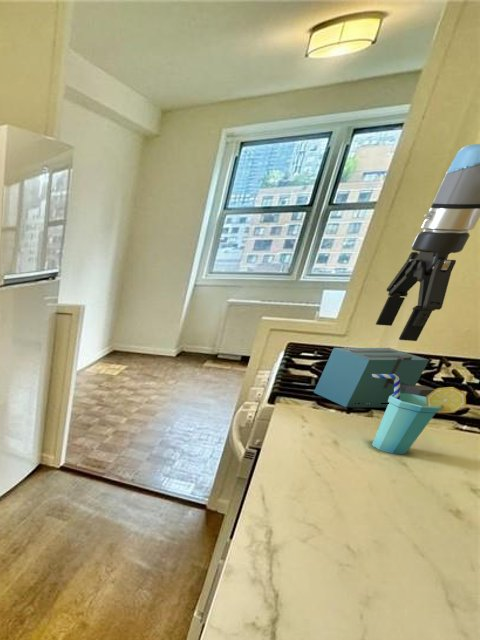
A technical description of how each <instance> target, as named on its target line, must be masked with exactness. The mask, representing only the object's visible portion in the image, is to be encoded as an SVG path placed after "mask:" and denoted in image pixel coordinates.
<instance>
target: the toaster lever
mask: <svg viewBox="0 0 480 640" xmlns="http://www.w3.org/2000/svg"><path fill="white" fill-rule="evenodd" d="M387 382H388V383H390V384H393V385H394V380H393V379H388V381H387ZM400 387H401V388H404V389H406V390H405V392H404V394H414V395H418V396H423V397H426V396H427V395H429V394H430V393H432V392H433V391H434V390H436V389H437V388H433V387H430V386H427V385H422V384H421V385H420V384H416V385H408V384H405V383H402V382H400Z"/></svg>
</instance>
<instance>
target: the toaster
mask: <svg viewBox="0 0 480 640" xmlns="http://www.w3.org/2000/svg"><path fill="white" fill-rule="evenodd" d="M429 362H430V359H427V358H424V357H421V356H418V355H415V354H411V353H408V352H404V351H402V350H397V349H394V348H391V347H333V349H332V351H331V354H330V355H329V357H328V360H327V362H326V364H325V366H324V368H323V371H322V373H321V375H320V378H319V379H318V382H317V384H316V386H315V388H314V391H313V394H316V395H318V396H320V397H322V398H324V399H326V400H329V401H330V402H333V403H335V404H338V405H340V406H342V407H344V408H387V406H388V404H381V403H389V402H388V399H389V396H391V395H392V394H394V385H393V384H390V383H388V382H387V381H388V379H392V378H371V374H395V375H397V376H398V377H399V379H400V382H402V383H405V384H408V385H417V384H418V381H419V380H420V378H421V376H422V374H423V373H424V371H425V369H426V367H427V366H428V363H429ZM405 390H406V389H404V388H401V387H400V393H404V392H405ZM355 403H356V404H355ZM358 403H360V404H358ZM362 403H363V404H362ZM366 403H368V404H366ZM369 403H370V404H369Z"/></svg>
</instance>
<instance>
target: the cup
mask: <svg viewBox="0 0 480 640" xmlns="http://www.w3.org/2000/svg"><path fill="white" fill-rule="evenodd" d="M371 378H392V379H393V380H394V394H392V395H391V396H389V399H388V402H389V404H388V406H387V407H386V409H385V411H384V414H383V416H382V419H381V421H380V424H379V425H378V429H377V432H376V434H375V435H374V439H373V441H372V444H371V446H373V447H374V448H375V449H377V450H379V451H382V452H386V453H388V454H392V455H406V454H407V452H408V451H409V450H410V448H411V447H412V446H413V444H414V443H415V442H416V440H417V439H418V437H419V436H420V435H421V434H422V433H423V431H424V429H425V428H426V427H427V425H429V422H430V421H431V420H432V419H433V417H434V416H435V415H436V414H454V413H456V412H458V411H459V410H460V409H462V408H463V407H465V406H466V405H467V397H466V395H467V394H466V392H463V390H460V389H459V388H456V387H454V386H447V387H437V388H435V389H436V390H434V391H433V392H432V393H430V394H429V395H427V396H426V397H423V396H418V395H414V394H404V393H400V379H399V377H398V376H397V375H395V374H371Z"/></svg>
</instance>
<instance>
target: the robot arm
mask: <svg viewBox="0 0 480 640" xmlns="http://www.w3.org/2000/svg"><path fill="white" fill-rule="evenodd" d="M438 188H439V189H438V191H437V193H436V195H435V197H434V199H433V202H432V204H431V207H430V208H429V210H428V213H427V212H426V213H424V215H423V218H424V221H423V223H422V225H421V229H423V230H422V231H420V232H418V233H417V234H416V237H415V239H414V241H413V244H412V246H411V250H412V251H411V252H410V254H409V255H408V257H407V259H406V261H405V262H404V263H403V266H402V267H401V268H400V269H399V271H398V272H397V274H396V275H395V276H394V278H393V279H392V280H391V281H390V283H389V285H388V286H387V288H386V292H388V293H387V295H388V297H387V299H386V301H385V303H384V305H383V307H382V309H381V312H380V313H379V316H378V318H377V319H376V322H375V325H376V326H390V327H391V326H393V323H394V321H395V319H396V317H397V315H398V313H399V311H400V309H401V307H402V305H403V304H404V301H405V299H406V297H408V294H409V293H408V292H409V291H410V290H411V289H412V288H413V287H414V286H415V285H416V284H417V283H418V282H419V289H418V300H417V305H415V306H414V307H412V311H411V314H410V316H409V318H408V320H407V322H406V324H405V325H404V327H403V329H402V331H401V333H400V334H399V337H398V340H399V341H410V342H417V341H418V339H419V337H420V335H421V334H422V332H423V329H424V328H425V326H426V324H427V322H428V320H429V318H430V317H431V314H432V313H433V312H434V311H440V310H442V307H443V304H444V301H445V297H446V294H447V289H448V286H449V282H450V278H451V275H452V271H453V270H454V267H455V265H456V263H457V260H456V259H448V258H449V255H450V254H456V253H460V252H462V251H463V250H464V248H465V246H466V244H467V242H468V241H469V238H470V236H471V234H470V232H469V231H471V230H474V229H475V228H476V225H477V224H478V222H479V220H480V143H475V144H468V145H465V146H463V147H462V148H461V149H459V150H458V151H457V153H456V155H455V156H454V158H453V160H452V162H451V164H450V166H449V168H448V169H447V171H446V173H445V175H444V178H443V180H442V182H441V184H440V186H439V187H438Z"/></svg>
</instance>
